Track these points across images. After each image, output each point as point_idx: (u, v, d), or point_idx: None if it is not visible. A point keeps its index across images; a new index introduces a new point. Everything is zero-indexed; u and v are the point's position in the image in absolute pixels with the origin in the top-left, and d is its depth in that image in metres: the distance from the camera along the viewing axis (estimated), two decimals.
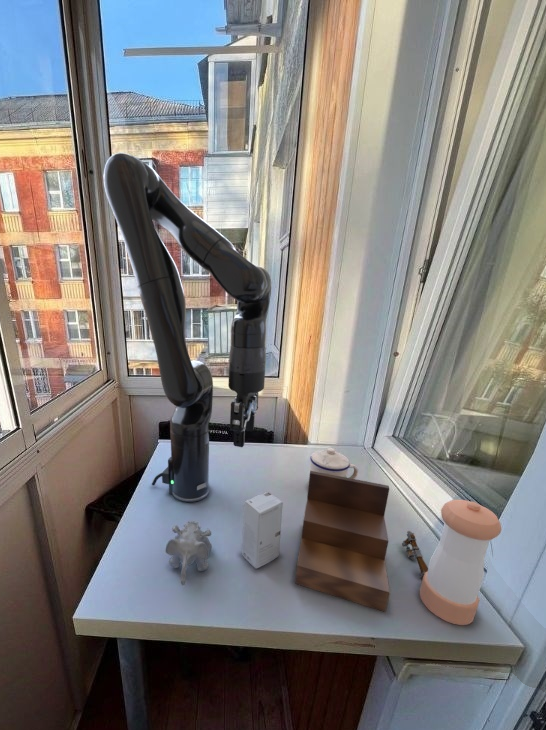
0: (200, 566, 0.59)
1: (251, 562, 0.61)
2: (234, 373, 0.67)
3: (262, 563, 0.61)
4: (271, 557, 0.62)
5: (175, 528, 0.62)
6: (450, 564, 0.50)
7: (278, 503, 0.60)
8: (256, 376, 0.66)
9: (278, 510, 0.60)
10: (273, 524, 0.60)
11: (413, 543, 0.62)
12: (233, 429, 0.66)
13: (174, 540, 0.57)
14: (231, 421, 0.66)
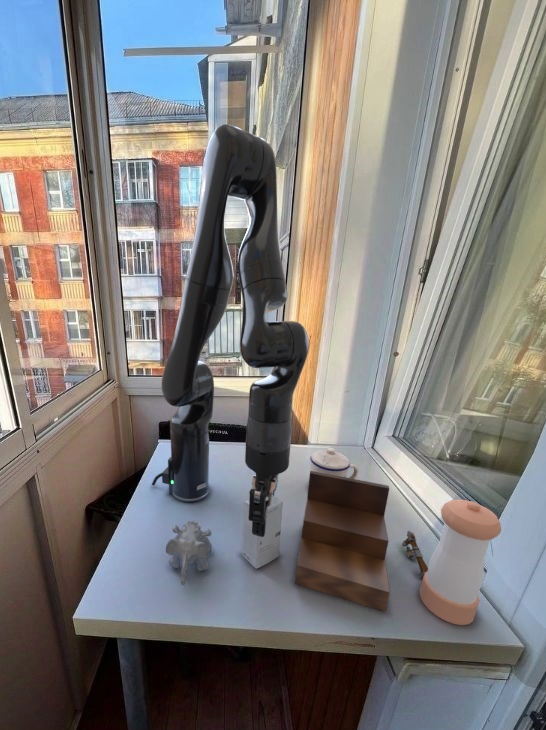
0: (200, 566, 0.59)
1: (251, 562, 0.61)
2: (253, 451, 0.54)
3: (262, 563, 0.61)
4: (271, 557, 0.62)
5: (175, 528, 0.62)
6: (450, 564, 0.50)
7: (278, 503, 0.60)
8: (281, 456, 0.54)
9: (278, 510, 0.60)
10: (273, 524, 0.60)
11: (413, 543, 0.62)
12: (253, 520, 0.54)
13: (174, 540, 0.57)
14: (250, 511, 0.54)
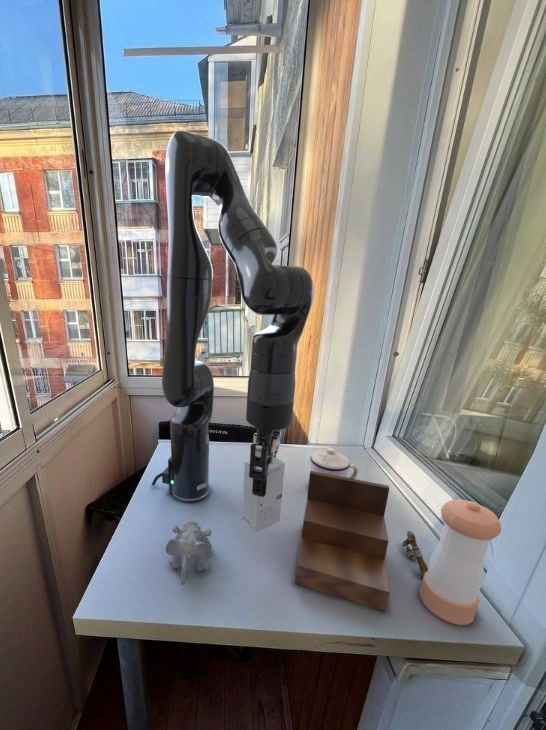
0: (200, 566, 0.59)
1: (251, 525, 0.59)
2: (255, 404, 0.52)
3: (262, 527, 0.59)
4: (271, 521, 0.60)
5: (175, 528, 0.62)
6: (450, 564, 0.50)
7: (280, 464, 0.58)
8: (284, 410, 0.51)
9: (280, 472, 0.58)
10: (275, 486, 0.58)
11: (413, 543, 0.62)
12: (253, 477, 0.52)
13: (174, 540, 0.57)
14: (251, 468, 0.52)
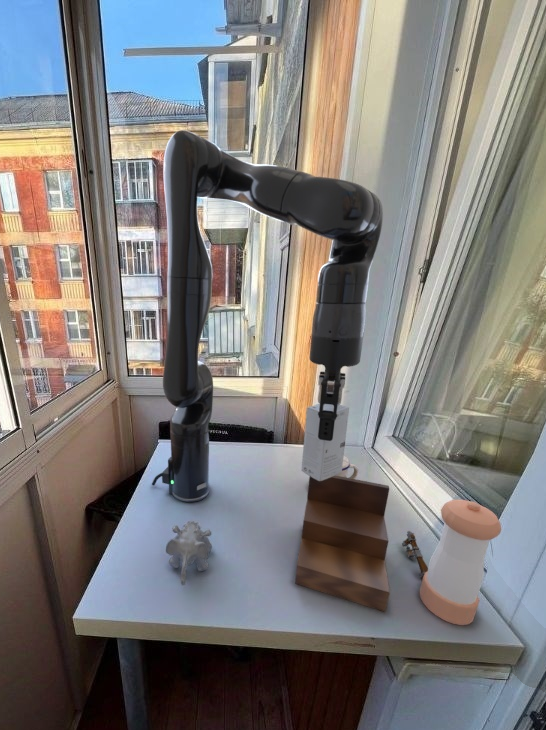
0: (200, 566, 0.59)
1: (314, 475, 0.56)
2: (324, 340, 0.49)
3: (326, 476, 0.56)
4: (335, 470, 0.57)
5: (175, 528, 0.62)
6: (450, 564, 0.50)
7: (344, 408, 0.55)
8: (355, 344, 0.49)
9: (344, 417, 0.55)
10: (339, 432, 0.55)
11: (413, 543, 0.62)
12: (323, 416, 0.49)
13: (174, 540, 0.57)
14: (321, 406, 0.49)
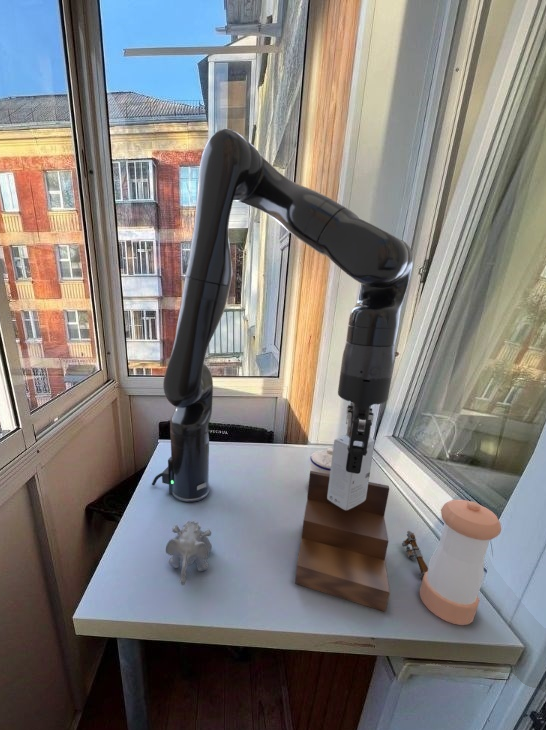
0: (200, 566, 0.59)
1: (340, 504, 0.58)
2: (355, 379, 0.52)
3: (352, 505, 0.58)
4: (360, 499, 0.59)
5: (175, 528, 0.62)
6: (450, 564, 0.50)
7: (371, 441, 0.57)
8: (385, 383, 0.51)
9: (370, 449, 0.57)
10: (365, 463, 0.57)
11: (413, 543, 0.62)
12: (353, 452, 0.52)
13: (174, 540, 0.57)
14: (352, 442, 0.51)
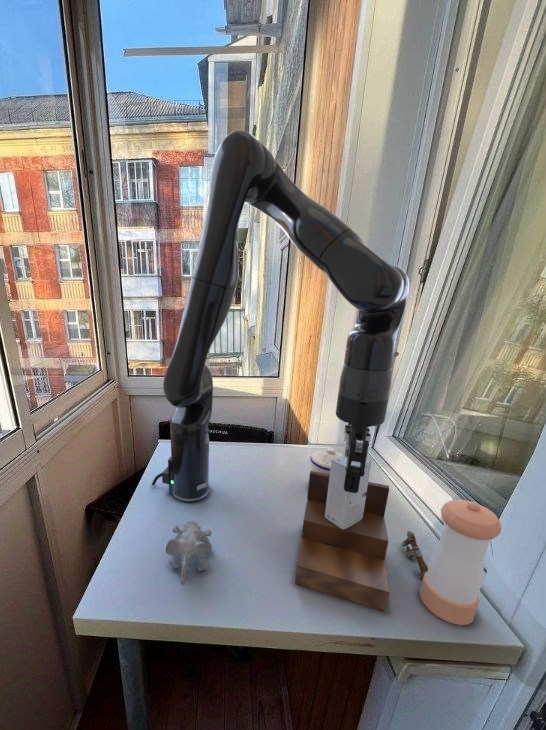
0: (200, 566, 0.59)
1: (337, 523, 0.60)
2: (352, 401, 0.53)
3: (349, 524, 0.59)
4: (357, 518, 0.60)
5: (175, 528, 0.62)
6: (450, 564, 0.50)
7: (367, 462, 0.58)
8: (382, 406, 0.52)
9: (367, 469, 0.59)
10: (362, 483, 0.59)
11: (413, 543, 0.62)
12: (351, 473, 0.52)
13: (174, 540, 0.57)
14: (349, 463, 0.52)
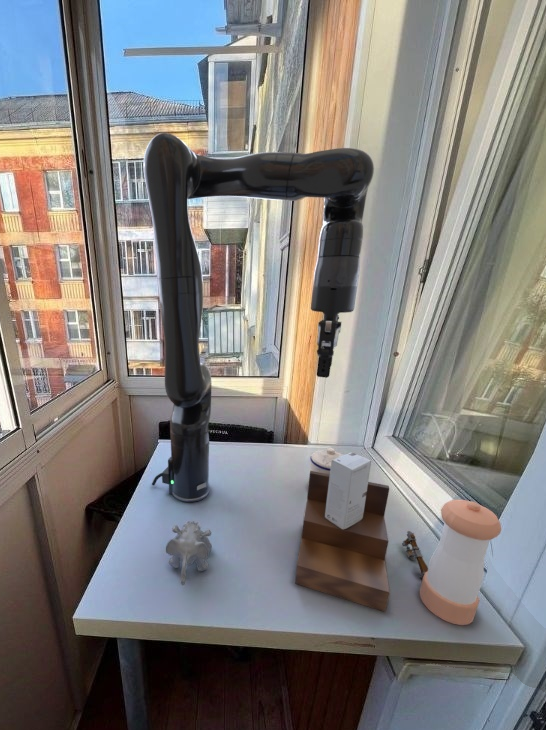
0: (200, 566, 0.59)
1: (337, 523, 0.60)
2: (323, 288, 0.58)
3: (349, 524, 0.59)
4: (357, 518, 0.60)
5: (175, 528, 0.62)
6: (450, 564, 0.50)
7: (367, 462, 0.58)
8: (350, 292, 0.57)
9: (367, 469, 0.59)
10: (362, 483, 0.59)
11: (413, 543, 0.62)
12: (322, 353, 0.57)
13: (174, 540, 0.57)
14: (320, 343, 0.57)
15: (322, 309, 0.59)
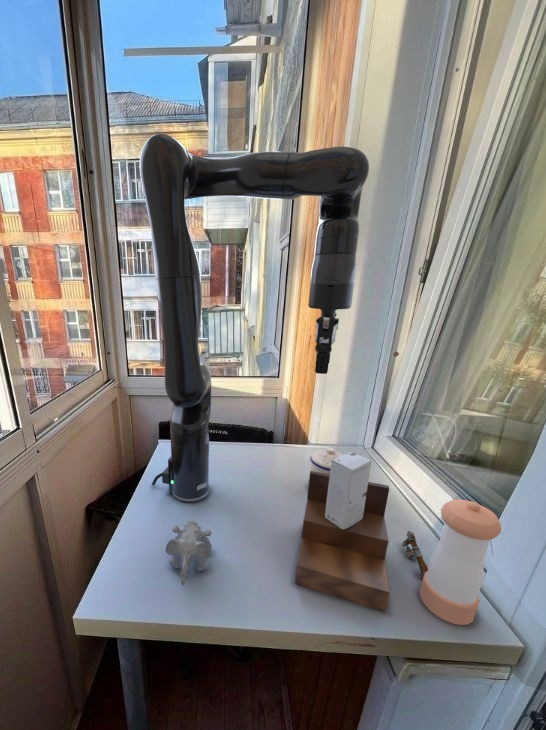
0: (200, 566, 0.59)
1: (337, 523, 0.60)
2: (321, 286, 0.58)
3: (349, 524, 0.59)
4: (357, 518, 0.60)
5: (175, 528, 0.62)
6: (450, 564, 0.50)
7: (367, 462, 0.58)
8: (347, 288, 0.58)
9: (367, 469, 0.59)
10: (362, 483, 0.59)
11: (413, 543, 0.62)
12: (320, 349, 0.58)
13: (174, 540, 0.57)
14: (318, 339, 0.58)
15: (320, 306, 0.59)
